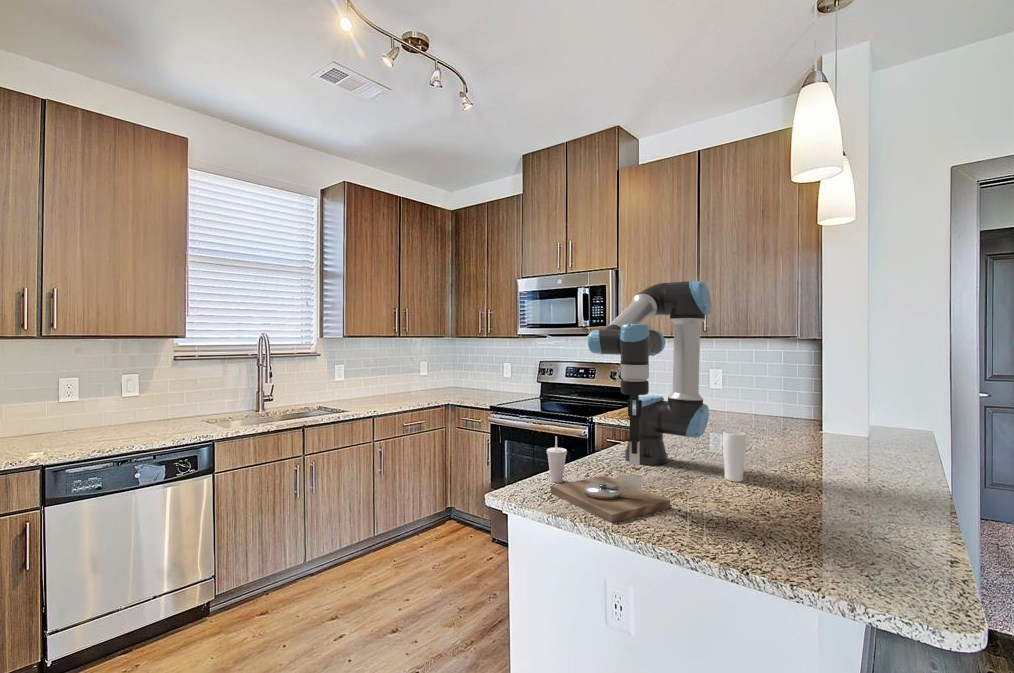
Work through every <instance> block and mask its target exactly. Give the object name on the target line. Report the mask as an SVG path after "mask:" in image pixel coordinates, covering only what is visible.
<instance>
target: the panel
mask: <svg viewBox="0 0 1014 673" xmlns="http://www.w3.org/2000/svg"><path fill="white" fill-rule="evenodd" d="M593 482H605V483H611V484H615V485H617V486H619V479H616V478H613V477H610V476H608V475H601V476H596V477H591V478H586V479H579V480H575V481H571V482H566V483H559V484H555V485H550V494H552V495H553V496H556V497H557V498H561V500H565V501H566V502H568V503H569V504H570V503H571V504H572V505H574V506H575V507H578V508H580V509H582V510H584V511H587V512H589V513H591V515H594V516H597V517H599V518H601V519H602V520H605V521H607V522H609V523H611V524H614V523H616V522H620V521H624V520H628V519H632V518H636V517H638V516H643V515H648V514H650V513H655V512H659V511H662V510H666V509H670V508H671V499H668V498H666V497H664V496H661V495H657V494H655V493H653V492H650V491H647V490H645V489H643V497H642V500H638V499H631V498H624V497H619V498H617V499H610V500H604V499H596V498H592V497H589V496H587V495H586V494H585V493H584V487H585V485H586V484H588V483H593Z"/></svg>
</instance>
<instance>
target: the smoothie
mask: <svg viewBox="0 0 1014 673" xmlns="http://www.w3.org/2000/svg"><path fill="white" fill-rule="evenodd" d="M554 438H555V444H554V447H549V448H547V449H546V455H547V459H548V460H547V461H548V467H549V468H548V469H549V470H548V471H549V477H550V478H549V479H550V482H552V483H556V484H557V483H559V484H560V483H562V482H563V480H564V471H565V464H566V458H567V454H568V450H567V449H566V448H563V447H558V436H555V437H554Z"/></svg>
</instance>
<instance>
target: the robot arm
mask: <svg viewBox="0 0 1014 673" xmlns="http://www.w3.org/2000/svg"><path fill="white" fill-rule="evenodd" d="M711 312H712V298H711V294H710V289H709V288H708V285H707V284H706V283H705V282H703V281H697V280H694V281H693V280H689V281H676V282H674V281H673V282H659V283H655V284H653V285H651V286H648V287H646V288H645V289H642V290H641V291H640V292H638V293H637V294H636V295H635V296H634V297H632V299H631V301H630V304H629V305H628V306H627V307H626V308H625V309H624V310H623V311H622V312H620V314H618V316H616V317H615V318H614V319H613V320H612V321H610V323H608V325H607V326H606V327H604V328H603V329H593V330H591V331H590V332H589V334H588V336H587V346H588V349H589V351H590V353H592V354H597V355H599V354H600V355H617V356H618V355H619V356H620V366H619V367H618V368H617V369H618V371H620V378H621V380H620V393H621V394H623V395H625V396H626V395H627V396H629V399H627V400H626V407H627V416H628V417H629V438H627V439H626V441H627V442H628V443H627V446H626V449H625V450H624V459H625V460H626V461H627V462H629V463H628V465H632V466H640V465H649V466H651V465H652V466H654V465H664V464H666V463H668V459H669V456H668V453H667V450H666V446H665V443H664V434H665V435H672V436H680V437H686V438H697V439H698V438H701V437H702V436H703V435H704V433H705V431H706V428H707V426H708V422H709V415H710V411H709V410H710V409H709V408H710V407H709V406H708V405H707V404H705V403H704V397H702V396H701V395H700V392H699V391H700V390H699V389H700V388H699V387H700V386H699V385H700V350H701V348H700V347H701V342H700V341H701V325H702V323H704V322H705V321H706V316H708V315H710V313H711ZM655 316H669V321H670V322H672V323H673V325H674V326H673V354H672V355H673V360H672V361H673V363H672V392H671V393H670V394H669V395H668V396H667V400H665V398H664V396H662V395H648V394H649V391H650V389H649V386H650V384H649V380H648V379H649V378H650V364H649V362H650V358H649V357H653V356H657V354H661V353H662V352H663V350H664V349H665V346H666V338H665V337H664V335H663V334H662V333H661V332H660V331H658V330H654V329H650V328H649V325H648V324H647V323H644V322H646V321H647V320H650V319H651V318H654V317H655ZM647 395H648V396H647Z"/></svg>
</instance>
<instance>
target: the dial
mask: <svg viewBox="0 0 1014 673" xmlns="http://www.w3.org/2000/svg"><path fill="white" fill-rule="evenodd" d="M643 476H644V475H643V474H642V475H639V474H632V473H625V472H624V473H623V472H619V474H618V481H619V486H617V485H615V484H611V483H605V482H593V483H588V484H586V485H585V487H584V493H585V494H586V495H587V496H589V497H592V498H596V499H604V500H610V499H617V498H619V497H624V498H631V499H638V500H642V497H643V490H644V489H643V488H644V487H643V483H644V480H643V479H644V478H643Z"/></svg>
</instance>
